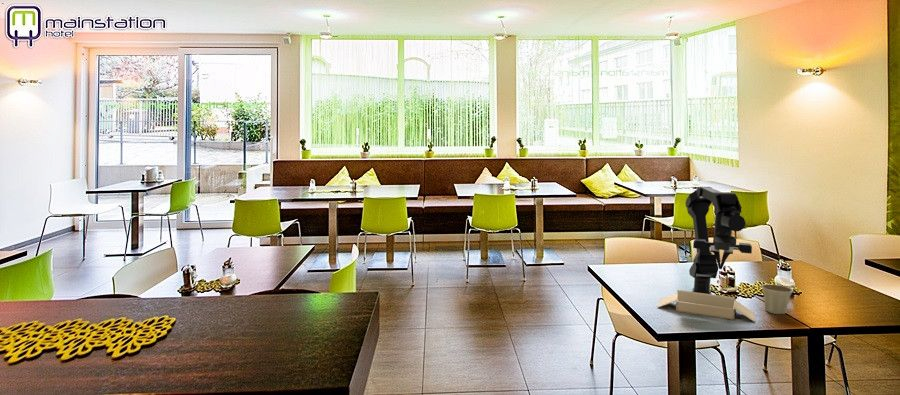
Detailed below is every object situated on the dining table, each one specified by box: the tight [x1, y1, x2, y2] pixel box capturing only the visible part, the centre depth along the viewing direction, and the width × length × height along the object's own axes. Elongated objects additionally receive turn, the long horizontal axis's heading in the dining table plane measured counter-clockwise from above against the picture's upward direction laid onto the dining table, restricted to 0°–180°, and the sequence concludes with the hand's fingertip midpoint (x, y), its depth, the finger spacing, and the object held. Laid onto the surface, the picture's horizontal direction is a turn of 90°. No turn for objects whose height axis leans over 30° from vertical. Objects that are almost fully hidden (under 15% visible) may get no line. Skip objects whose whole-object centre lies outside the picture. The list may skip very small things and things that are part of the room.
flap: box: [676, 289, 735, 309], centre depth 176 cm, size 1×17×7 cm
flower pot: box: [761, 284, 794, 315], centre depth 184 cm, size 9×9×9 cm
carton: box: [657, 292, 756, 323], centre depth 186 cm, size 16×30×4 cm, turn 62°
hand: (720, 269), depth 191 cm, fingers closed
